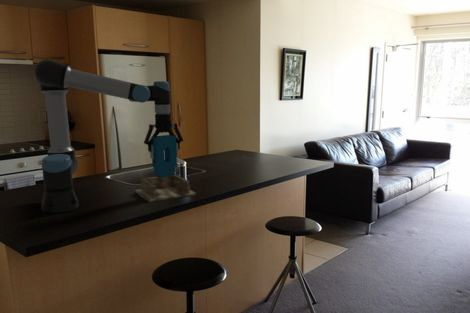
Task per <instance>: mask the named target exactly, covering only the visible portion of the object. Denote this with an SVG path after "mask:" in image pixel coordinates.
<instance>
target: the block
mask: <svg viewBox="0 0 470 313" xmlns="http://www.w3.org/2000/svg"><path fill="white" fill-rule="evenodd" d="M174 135H175V136H172V135H170V134H163V135H157V137H152V136H150V139H151V138H153V143H152V145H153V154H154V159H152V158H151V161H152V164H151V165H152V168H153V172H154V174H155V177H159V178H163V177H168V176H174V175H176V169H177V164H178V163H177V162H178V158H177V157H178V156H177V152H176V137H177V135H176V134H174Z"/></svg>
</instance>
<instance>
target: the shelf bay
mask: <svg viewBox="0 0 470 313" xmlns="http://www.w3.org/2000/svg"><path fill="white" fill-rule="evenodd" d="M140 184H141V189H140V188H139V189H135V193H136V194H138V195H139V196H140V197H142V198H143V199H144V200H146V201H148V202H149V203H151V202H158V201H165V200H172V199H178V198H184V197H190V196H197V192H195V191H194V190H191V189H190V187H191V186H190V180H187V179H185V178H183V177H181V176H179V175H177V174H175V175H174V176H168V177H163V178H159V177H156V176H152V177H144V178H141V181H140Z"/></svg>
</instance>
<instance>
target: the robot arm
mask: <svg viewBox="0 0 470 313" xmlns="http://www.w3.org/2000/svg"><path fill="white" fill-rule="evenodd" d="M33 74H34V77H35V79H36V80H37V82H38V83H39V87H40V92H41V93H42V94H43V95H44V97H45V98H44V100H45V107H46V108H45V110H46V116H47V126H48V135H49V144H50V148H49V149H48V151H47V155H46V156H44V157H43V158H42V159H41V170H42V178H43V181H42V182H43V191H44V193H43V197H42V202H41V206H40V208H41V209H40V210H41V212H42V213H47V214H58V213H65V212H70V211H73V210H76V209H78V208H79V207H80V206H79V203H80V202H79V200H78V198H77V196H76V193H75V191H74V182H73V181H74V180H73V175H75V173H76V171H77V169H78V160H77V158H76V151H75V148H74V147H73V146H72V145H71V136H70V135H71V134H70V126H69V117H68V116H69V115H68V106H67V93H68V92H69V88H74V89H78V90H82V91H83V90H84V91H88V92H92V93H98V94H101V95H106V96H110V97H114V98H115V97H116V98H120V99H125V100H128V101H129V102H132V103H133V102H134V103H135V102H136V103H137V102H138V103H141V104H142V103H143V104H144V103H146V102H154V113H155V114H154V122H155V123H154V124H151V123H149V125H148V130H147V132H146V136H145V138H144V141H143V143H144V145H146V146H147V151H148V152H149V157H150V158H149V159H151V160H152V159H154V154H153V145H152V143H153V138H151V137H157V136H159V135H160V133H168V135H172V136H175V135H176V152H177V157H179V150H181V147H180V143H181V142H184V139H183V136H182V134H181V132H180V129H179V128H178V123H177V122H173V123H172V122H171V120H172V118H171V117H172V116H171V91H170V90H171V89H170V82H169V81H164V80H163V81H161V80H160V81H153V84H152V85H145V84H139V83H134V82H130V81H126V80H121V79H117V78H112V77H107V76H104V75H100V74H95V73H91V72H86V71H83V70H82V71H81V70H77V69H73V68H71V66H70V65H66V64H64V63H61V62H59V61H57V60H54V59H42V60H40V61H39V62H37V64H36V65H35V67H34V73H33ZM154 128H155V131H154V133H153V130H154ZM171 128H173V131H174V132H175V133H174V132H173V131H172V129H171ZM152 133H153V134H152Z"/></svg>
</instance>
